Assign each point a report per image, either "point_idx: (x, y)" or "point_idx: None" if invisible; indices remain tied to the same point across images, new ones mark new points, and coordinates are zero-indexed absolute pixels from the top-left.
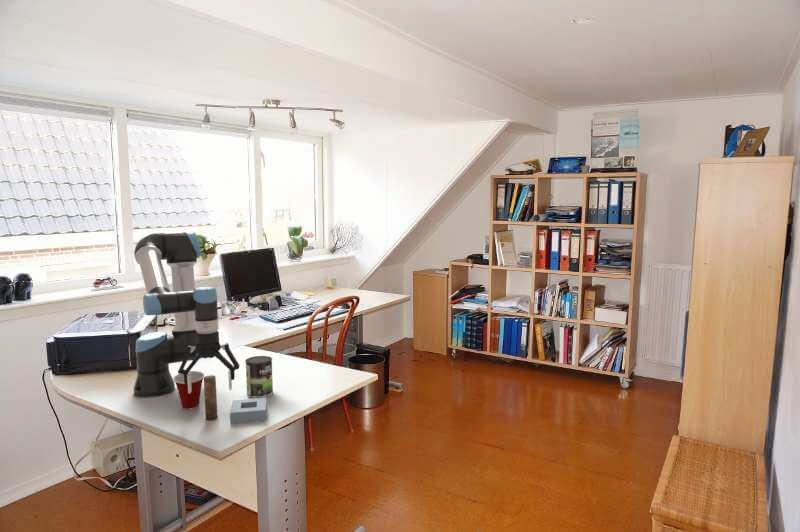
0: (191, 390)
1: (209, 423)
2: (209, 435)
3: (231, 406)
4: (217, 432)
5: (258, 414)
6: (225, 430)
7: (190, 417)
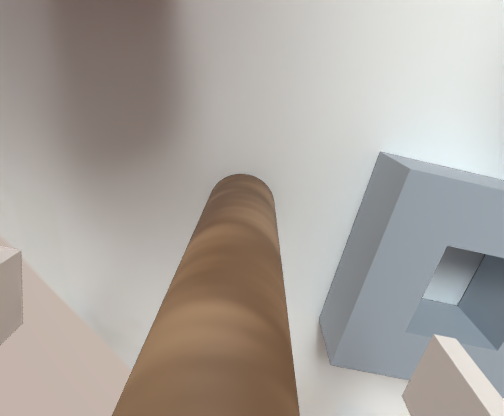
0: (16, 267)
1: None
2: None
3: (365, 280)
4: None
5: None
6: None
7: (123, 142)
